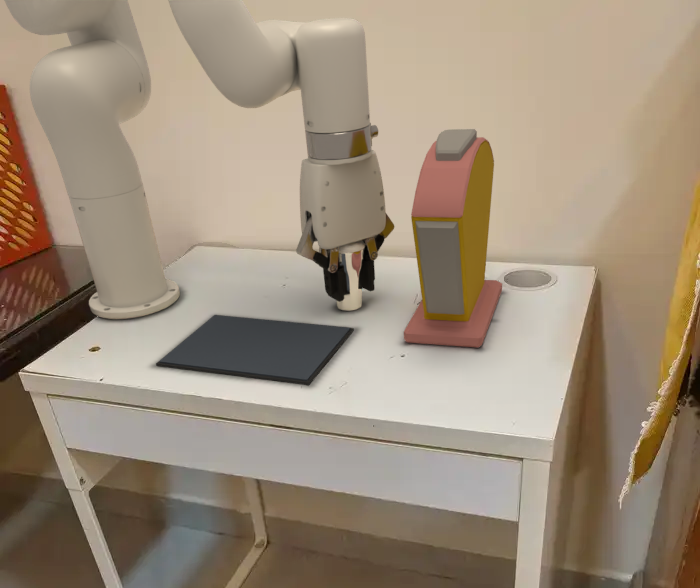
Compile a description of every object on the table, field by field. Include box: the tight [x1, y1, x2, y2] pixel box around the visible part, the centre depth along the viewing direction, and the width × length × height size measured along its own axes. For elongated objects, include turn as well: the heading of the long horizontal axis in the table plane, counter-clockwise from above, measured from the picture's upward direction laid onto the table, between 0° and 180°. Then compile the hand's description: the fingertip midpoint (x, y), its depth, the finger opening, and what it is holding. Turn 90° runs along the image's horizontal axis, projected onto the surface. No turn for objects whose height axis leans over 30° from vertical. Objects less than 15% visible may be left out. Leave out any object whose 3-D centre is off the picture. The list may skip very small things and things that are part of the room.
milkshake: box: [335, 239, 367, 312], centre depth 93 cm, size 4×5×10 cm
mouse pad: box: [155, 314, 355, 386], centre depth 88 cm, size 20×14×1 cm
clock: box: [403, 128, 503, 349], centre depth 84 cm, size 22×9×22 cm, turn 162°
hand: (350, 291), depth 94 cm, fingers closed on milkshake, 4 cm apart
